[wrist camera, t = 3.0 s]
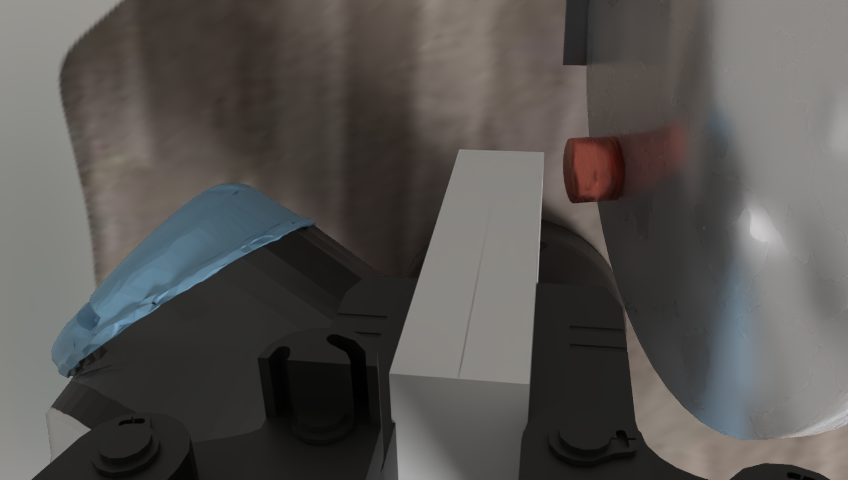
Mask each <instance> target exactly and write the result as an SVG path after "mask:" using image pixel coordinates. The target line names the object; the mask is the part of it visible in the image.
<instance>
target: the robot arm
mask: <svg viewBox="0 0 848 480" xmlns="http://www.w3.org/2000/svg"><path fill="white" fill-rule="evenodd" d="M543 167H544V152H520V151H492V150H463V149H459V152H458V155H457V158H456V162H455V165H454V168H453V171H452V174H451V177H450V181H449V184H448V187H447V190H446V193H445V197H444V200H443V203H442V206H441V209H440V213H439V216H438V219H437V222H436V225H435V229H434V232H433V235H432V238H431V241H430V243H429V244H428V245H426V246H425V247H424V248H423V249H422V251H421V252H420V253H419V254H418V255H417V257H416V258H415V259H414V261H413V262H412V264H411V265H410V267H409V269H408V271H407V273H406V276H405V277H388V276H383V275H382V274H381V273H379V272H378V271H376V270H375V269H373V268H372V267H371V266H369V265H368V264H367V263H365V262H364V261H362V260H361V259H360V258H358V257H357V256H355V255H354V254H353V253H351V252H350V251H349V250H347V249H346V248H344V247H343V246H342V245H340V244H339V243H338V242H336V241H335V240H333V239H332V238H331V237H329V236H328V235H327V234H325V233H324V232H322V231H321V230H320V229H318V228H317V227H316V223H315V222H314V221H313V220H311V219H310V218H308V217H300V216H298V215H297V214H295V213H293V212H292V211H290V210H288V209H287V208H285V207H283V206H282V205H280V204H279V203H277V202H275V201H274V200H272V199H271V198H269V197H268V196H266V195H265V194H263V193H261V192H260V191H258V190H257V189H255V188H253V187H251V186H248V185H244V184H239V183H226V184H221V185H217V186H214V187H212V188H210V189H208V190H206V191H204V192H202V193H201V194H199V195H198V196H196V197H195V198H193V199H192V200H190V201H189V202H188V203H186V204H185V205H184V206H182V207H181V208H180V209H179V210H177V211H176V212H175V213H174V214H173V215H171V216H170V217H169V218H168V219H167V220H166V221H165V222H163V223H162V224H161V225H160V226H159V227H158V228H157V229H155V230H154V231H153V232H152V233H151V234H150V235H149V236H148V237H147V238H146V239H145V240H144V241H143V242H142V243H141V244H140V245H139V246H137V247H136V248H135V249H134V250H133V251H132V252H131V253H130V254H129V255H128V256H127V257H126V258H125V259H124V260H123V261H122V262H121V263H120V264H119V265H118V266H117V267H116V269H115V270H114V271H113V272H112V273H111V274H110V275H109V276H108V277H107V278H106V279H105V280H104V281H103V282H102V284H101V285H100V286H99V287H98V288H97V289H96V290H95V291H94V293H93V294H92V295H91V297H90V302H88V303H86V304H85V305H84V306H83V307H82V308H81V310H80V311H79V312H78V313H77V314H76V315H75V316H74V317H73V318H72V319H71V320H70V321H69V322H68V323H67V325H66V326H65V327H64V329H63V330H62V332H61V333H60V334H59V336H58V337H57V339H56V341H55V343H54V345H53V347H52V350H51V352H52V361H53V362H54V363H55V364H56V366H57V367H58V372H59V373H60V374H61V375H63V376H65V377H67V378H69V377H70V376H73V378H72V379H71V381H70V382H69V384H68V385H67V386H66V388H65V389H64V390H63V392H62V393H61V394H60V396H59V397H58V398H57V399H56V401H55V402H54V404H53V405H52V406H51V407H50V409H49V410H48V412H47V413H46V420H47V427H48V435H49V442H50V450H51V460H50V464H49V465H48V466H47V467H46V468H44V469H43V470H42V471H41V472H40V473H39V474H37V475H36V476H35V477H34V478H33V479H32V480H708V479H704V478H701V477H698V476H695V475H693V474H690V473H688V472H686V471H683V470H681V469H678V468H676V467H674V466H673V465H671V464H670V463H668V462H666V461H665V460H663V459H662V458H660V457H659V456H658V455H657V454H656V453H654V452H653V451H652V450H651V449H650V448H649V447H648V446H647V445H646V443H645V441H644V439H643V436H642V434H641V432H640V431H639V430H638V428H637V425H636V422H635V413H634V404H633V396H632V387H631V378H630V369H629V360H628V352H627V342H626V317H625V308H624V304H623V301H622V298H621V295H620V292H619V290H618V286H617V283H616V280H615V276H614V273H613V272H612V270H611V268H610V267H609V265H608V264H607V263H606V261H605V260H604V259H603V258H602V256H601V255H600V254H599V253H598V252H597V251H596V250H595V249H594V248H593V247H591V246H590V245H589V244H588V243H587V242H585V241H584V240H583V239H581V238H580V237H578V236H577V235H575V234H573V233H572V232H570V231H568V230H566V229H564V228H562V227H560V226H557V225H555V224H552V223H549V222H546V221H543V220H541V208H542V188H543ZM730 480H830V479H828V478H826V477H825V476H823V475H821V474H819V473H816V472H813V471H810V470H807V469H803V468H800V467H797V466H794V465H786V464H769V463H764V464H760V465H756V466H752V467H748V468H744V469H742V470H741V471H740V472H739V473H737V474H736V475H735V476H734V477H732V478H731V479H730Z"/></svg>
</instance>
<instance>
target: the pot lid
mask: <svg viewBox="0 0 848 480" xmlns="http://www.w3.org/2000/svg"><path fill="white" fill-rule="evenodd" d="M586 74H587V109H588V125H589V137H584V138H570V139H568V141H567V142H566V145H565V149H564V157H563V174H564V183H565V188H566V192H567V195H568V198H569V200H570V201H571V202H572V203H584V202H597V203H598V208H599V214H600V219H601V224H602V229H603V234H604V238H605V242H606V247H607V251H608V255H609V259H610V263H611V266H612V270H613V273H614V276H615V280H616V283H617V286H618V290H619V292H620V295H621V298H622V301H623V304H624V306H625V309H626V312H627V315H628V317H629V319H630V322H631V324H632V326H633V329H634V331H635V333H636V335H637V338H638V340H639V342H640V344H641V346H642V348H643V350H644V351H645V353H646V355H647V357H648V359H649V361H650V363H651V364H652V366H653V368H654V369H655V371H656V372H657V374H658V375H659V377H660V378H661V380H662V381H663V383H664V384H665V386H666V387H667V388H668V389H669V391H670V392H671V393H672V394H673V395H674V396H675V398H676V399H677V400H678V401H679V402H680V403H681V405H682V406H683V407H684V408H685V409H687V410H688V411H689V412H690V413H691V414H692V415H694V416H695V417H696V418H697V419H698V420H699V421H701V422H702V423H704V424H706V425H707V426H709V427H711V428H713V429H714V430H716V431H718V432H720V433H722V434H725V435H729V436H732V437H736V438H739V439H742V440H768V439H778V438H789V437H799V436H809V435H815V434H819V433H822V432H826V431H829V430H833V429H837V428H840V427H842V426H844V425H846V424H847V423H848V0H589V8H588V28H587V72H586Z"/></svg>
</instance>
